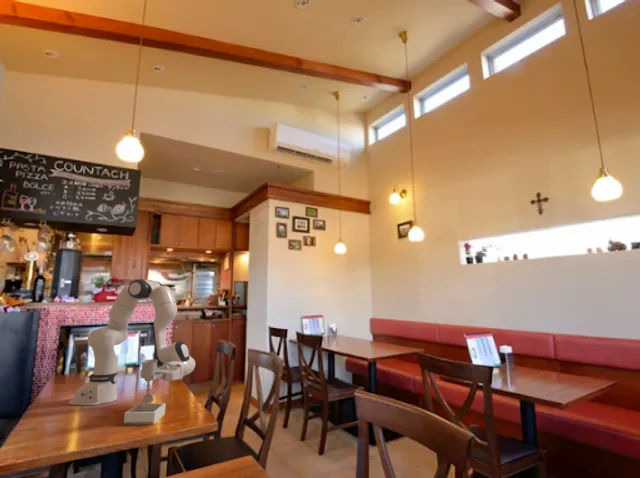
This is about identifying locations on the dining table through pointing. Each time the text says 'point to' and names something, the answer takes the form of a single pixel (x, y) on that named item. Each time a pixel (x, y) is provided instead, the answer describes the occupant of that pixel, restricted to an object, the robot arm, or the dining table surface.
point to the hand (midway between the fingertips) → (147, 377)
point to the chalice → (148, 376)
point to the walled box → (144, 414)
